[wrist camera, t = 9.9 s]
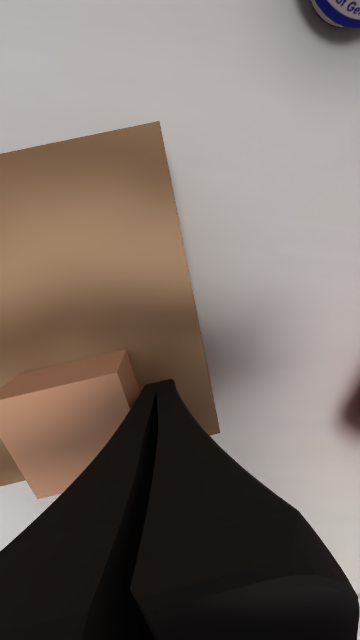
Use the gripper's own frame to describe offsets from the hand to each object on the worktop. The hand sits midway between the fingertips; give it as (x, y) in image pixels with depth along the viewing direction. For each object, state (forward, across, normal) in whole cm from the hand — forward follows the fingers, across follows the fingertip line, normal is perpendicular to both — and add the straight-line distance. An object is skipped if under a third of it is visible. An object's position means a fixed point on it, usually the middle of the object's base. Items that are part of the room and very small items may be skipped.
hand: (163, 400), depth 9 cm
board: (+3, +6, -4) cm, 7 cm away
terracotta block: (+1, +4, 0) cm, 4 cm away
